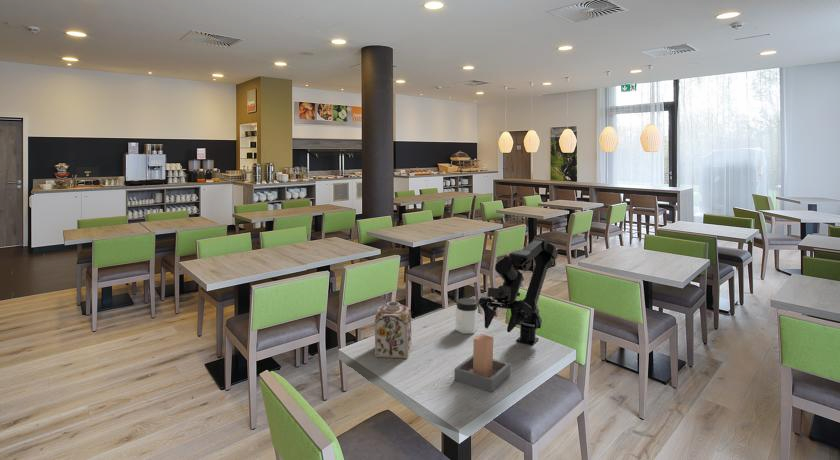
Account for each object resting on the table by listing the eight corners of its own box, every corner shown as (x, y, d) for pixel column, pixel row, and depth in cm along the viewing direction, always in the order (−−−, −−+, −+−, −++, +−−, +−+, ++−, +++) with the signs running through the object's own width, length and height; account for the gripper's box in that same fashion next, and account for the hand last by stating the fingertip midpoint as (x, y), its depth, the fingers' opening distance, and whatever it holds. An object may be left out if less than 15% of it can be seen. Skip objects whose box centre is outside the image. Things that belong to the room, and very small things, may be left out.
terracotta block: (479, 370, 150) (480, 333, 148) (492, 374, 147) (493, 337, 145) (472, 375, 146) (473, 338, 144) (485, 379, 144) (486, 342, 142)
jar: (451, 328, 186) (451, 300, 184) (466, 324, 191) (467, 296, 189) (466, 336, 179) (466, 306, 177) (481, 331, 184) (482, 302, 182)
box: (474, 364, 156) (474, 353, 155) (509, 374, 149) (510, 363, 148) (454, 379, 145) (454, 368, 145) (492, 392, 138) (492, 380, 138)
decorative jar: (380, 343, 172) (380, 297, 169) (411, 345, 171) (411, 298, 168) (374, 358, 161) (373, 308, 157) (407, 359, 159) (407, 309, 156)
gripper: (476, 275, 160) (461, 316, 154) (520, 277, 146) (506, 324, 140) (494, 289, 166) (480, 329, 160) (538, 292, 152) (525, 337, 146)
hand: (496, 330), depth 152 cm, fingers open, 9 cm apart
